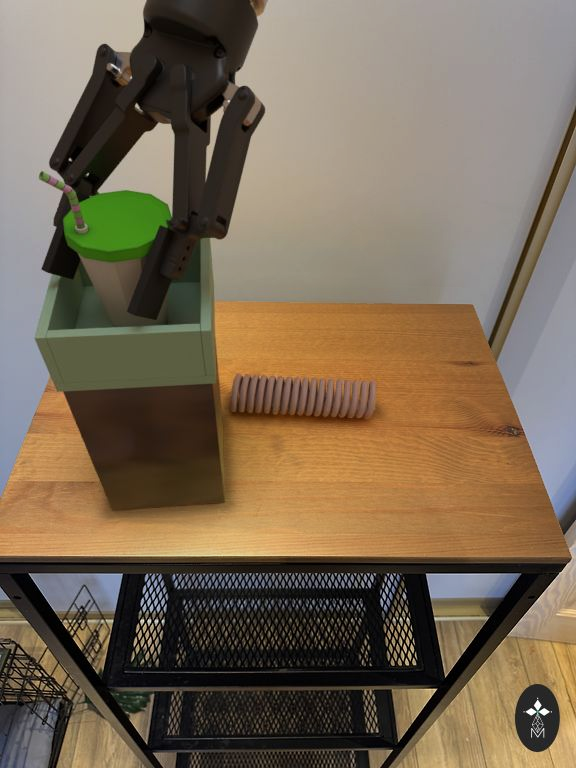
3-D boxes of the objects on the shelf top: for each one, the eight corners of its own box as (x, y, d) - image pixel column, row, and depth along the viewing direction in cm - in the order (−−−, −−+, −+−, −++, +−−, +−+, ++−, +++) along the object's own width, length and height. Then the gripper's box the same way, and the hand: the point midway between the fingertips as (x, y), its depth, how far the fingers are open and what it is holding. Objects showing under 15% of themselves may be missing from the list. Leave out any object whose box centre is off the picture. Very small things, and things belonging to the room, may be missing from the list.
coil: (379, 372, 69) (230, 365, 69) (382, 399, 66) (226, 392, 66) (374, 400, 72) (231, 393, 72) (376, 427, 69) (227, 419, 69)
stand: (222, 415, 70) (210, 286, 55) (225, 502, 62) (212, 381, 47) (121, 421, 69) (81, 291, 53) (111, 510, 61) (61, 389, 46)
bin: (213, 284, 55) (209, 230, 50) (216, 383, 47) (211, 330, 42) (78, 289, 54) (61, 235, 49) (56, 392, 45) (34, 338, 41)
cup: (192, 294, 52) (171, 131, 41) (180, 357, 47) (153, 190, 35) (105, 291, 52) (60, 127, 40) (84, 354, 47) (26, 186, 35)
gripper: (355, 55, 40) (232, 352, 43) (132, -3, 47) (38, 258, 50) (325, -16, 33) (180, 344, 36) (66, -72, 40) (-37, 236, 43)
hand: (98, 294), depth 43 cm, fingers closed on cup, 8 cm apart
